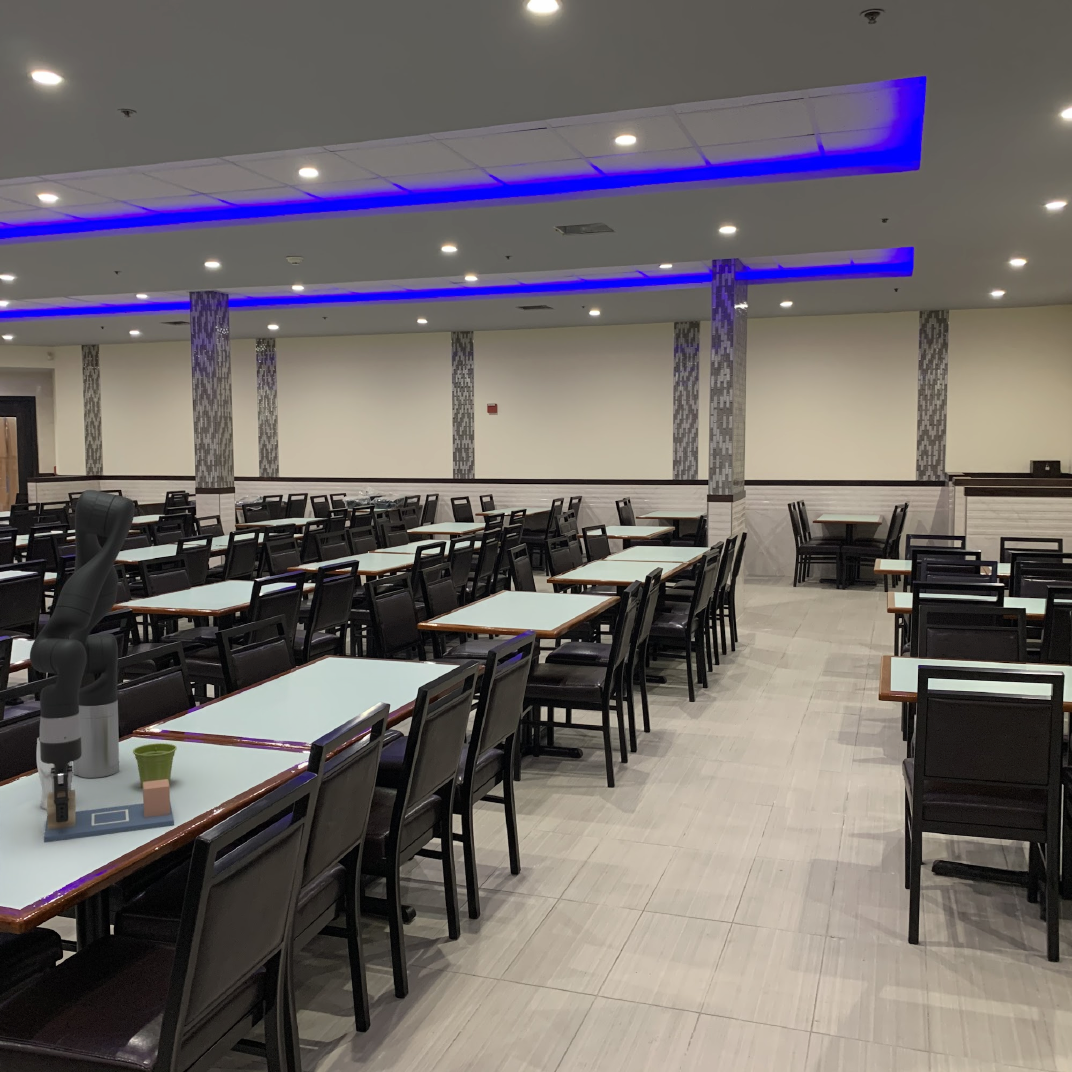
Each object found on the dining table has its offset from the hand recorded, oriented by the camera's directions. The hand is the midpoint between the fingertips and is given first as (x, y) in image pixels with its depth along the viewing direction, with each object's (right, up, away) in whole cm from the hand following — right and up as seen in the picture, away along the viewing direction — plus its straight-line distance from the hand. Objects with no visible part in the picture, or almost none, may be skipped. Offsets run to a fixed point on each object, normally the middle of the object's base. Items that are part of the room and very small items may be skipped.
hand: (62, 814), depth 202 cm
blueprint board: (+8, -3, +4) cm, 9 cm away
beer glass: (-8, -2, +14) cm, 16 cm away
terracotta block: (+16, -2, +7) cm, 18 cm away
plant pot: (+9, -1, +27) cm, 28 cm away
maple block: (0, -2, 0) cm, 2 cm away
